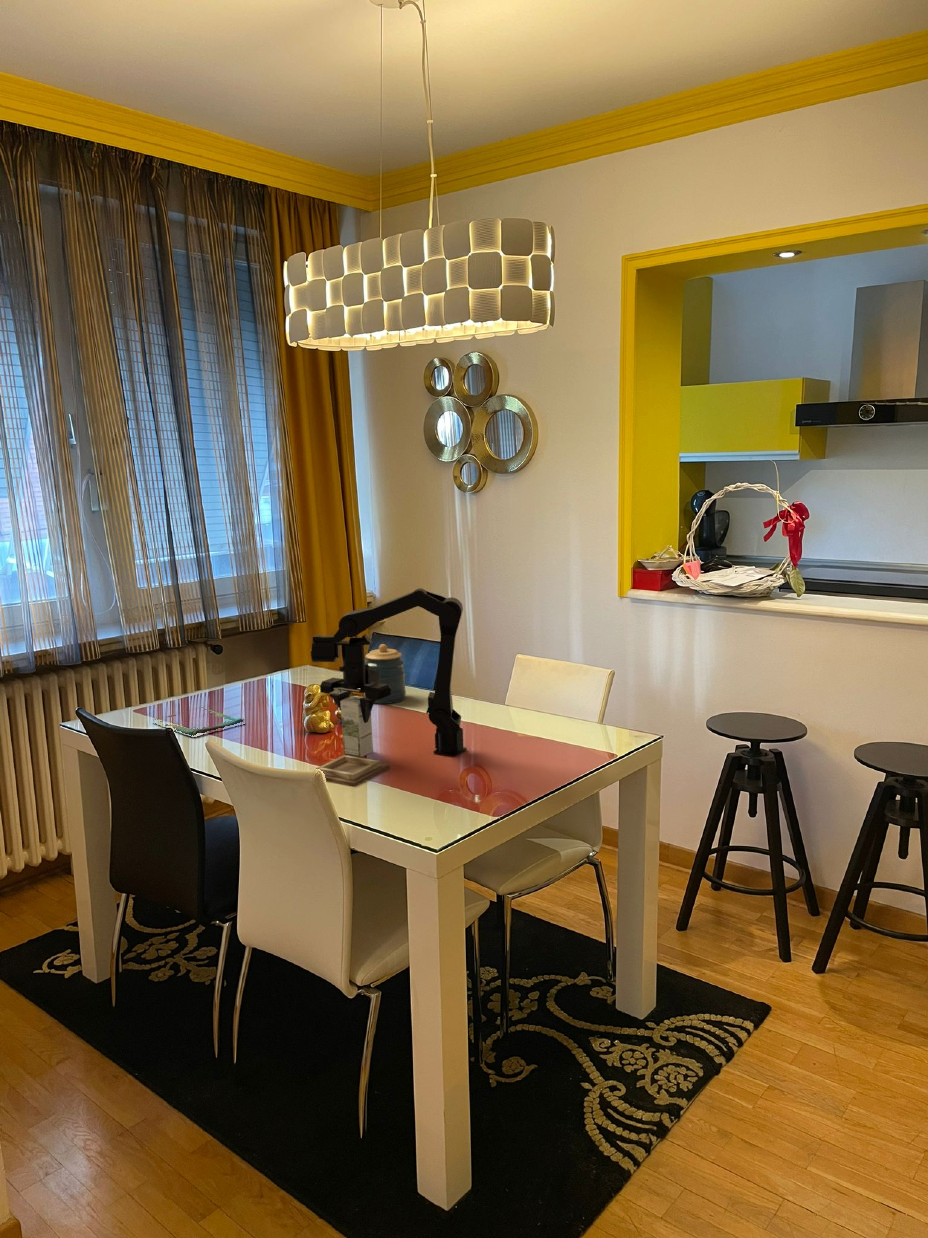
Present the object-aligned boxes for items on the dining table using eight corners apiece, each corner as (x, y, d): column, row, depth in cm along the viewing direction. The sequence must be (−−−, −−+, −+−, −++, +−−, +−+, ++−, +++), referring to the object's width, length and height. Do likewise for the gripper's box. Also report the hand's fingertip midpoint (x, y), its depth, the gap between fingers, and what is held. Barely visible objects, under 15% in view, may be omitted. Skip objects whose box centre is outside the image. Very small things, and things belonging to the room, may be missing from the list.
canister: (390, 691, 297) (388, 638, 294) (414, 699, 287) (412, 643, 284) (356, 699, 289) (354, 644, 286) (380, 707, 279) (377, 650, 276)
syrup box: (374, 751, 237) (371, 696, 235) (360, 758, 232) (357, 702, 230) (356, 748, 240) (353, 694, 237) (342, 754, 235) (339, 700, 232)
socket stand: (389, 768, 224) (389, 760, 224) (354, 786, 212) (353, 778, 212) (343, 759, 231) (343, 752, 231) (307, 777, 219) (307, 769, 219)
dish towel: (193, 741, 253) (192, 732, 252) (151, 725, 269) (150, 717, 268) (246, 726, 265) (245, 718, 265) (203, 712, 281) (202, 704, 281)
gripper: (402, 658, 234) (404, 717, 237) (344, 652, 243) (347, 709, 246) (376, 667, 224) (379, 728, 227) (317, 660, 234) (320, 719, 237)
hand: (356, 721), depth 235 cm, fingers closed on syrup box, 6 cm apart
